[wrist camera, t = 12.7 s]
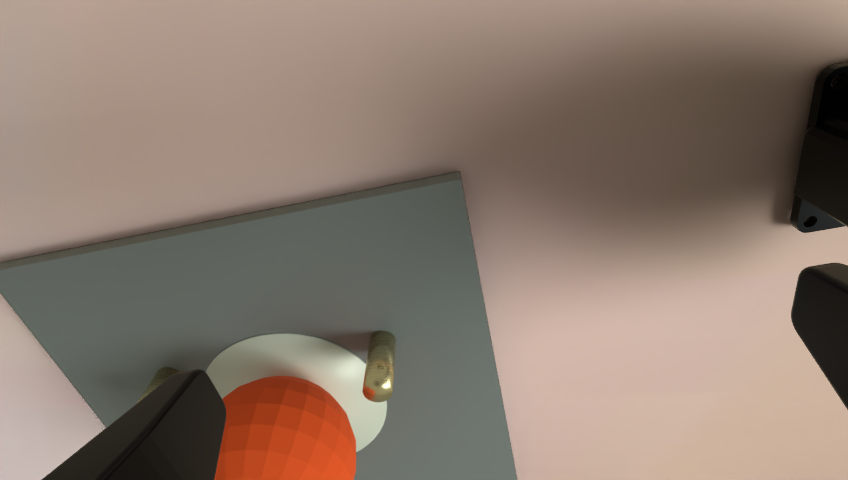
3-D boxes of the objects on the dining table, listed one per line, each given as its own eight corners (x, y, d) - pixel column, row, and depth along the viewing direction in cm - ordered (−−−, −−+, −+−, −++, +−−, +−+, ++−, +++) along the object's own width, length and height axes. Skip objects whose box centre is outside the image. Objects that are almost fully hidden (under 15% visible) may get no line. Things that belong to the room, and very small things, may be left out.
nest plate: (459, 171, 19) (461, 180, 18) (518, 484, 28) (521, 499, 28) (-1, 263, 21) (-17, 274, 20) (200, 527, 30) (194, 541, 30)
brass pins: (392, 328, 22) (388, 378, 19) (436, 471, 27) (438, 526, 24) (152, 369, 23) (117, 421, 20) (237, 498, 28) (218, 553, 25)
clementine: (391, 441, 25) (381, 597, 19) (270, 467, 26) (223, 623, 20) (332, 327, 21) (295, 474, 15) (192, 362, 22) (105, 513, 16)
